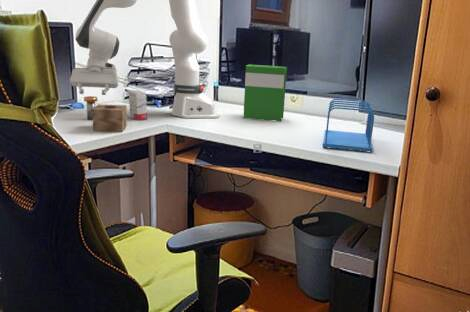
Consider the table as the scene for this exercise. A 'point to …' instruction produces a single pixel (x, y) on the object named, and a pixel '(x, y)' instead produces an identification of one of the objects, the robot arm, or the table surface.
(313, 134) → the table surface
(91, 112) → the pin
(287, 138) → the table surface
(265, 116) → the green cereal box
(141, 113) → the ink box
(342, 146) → the file sorter
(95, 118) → the block
